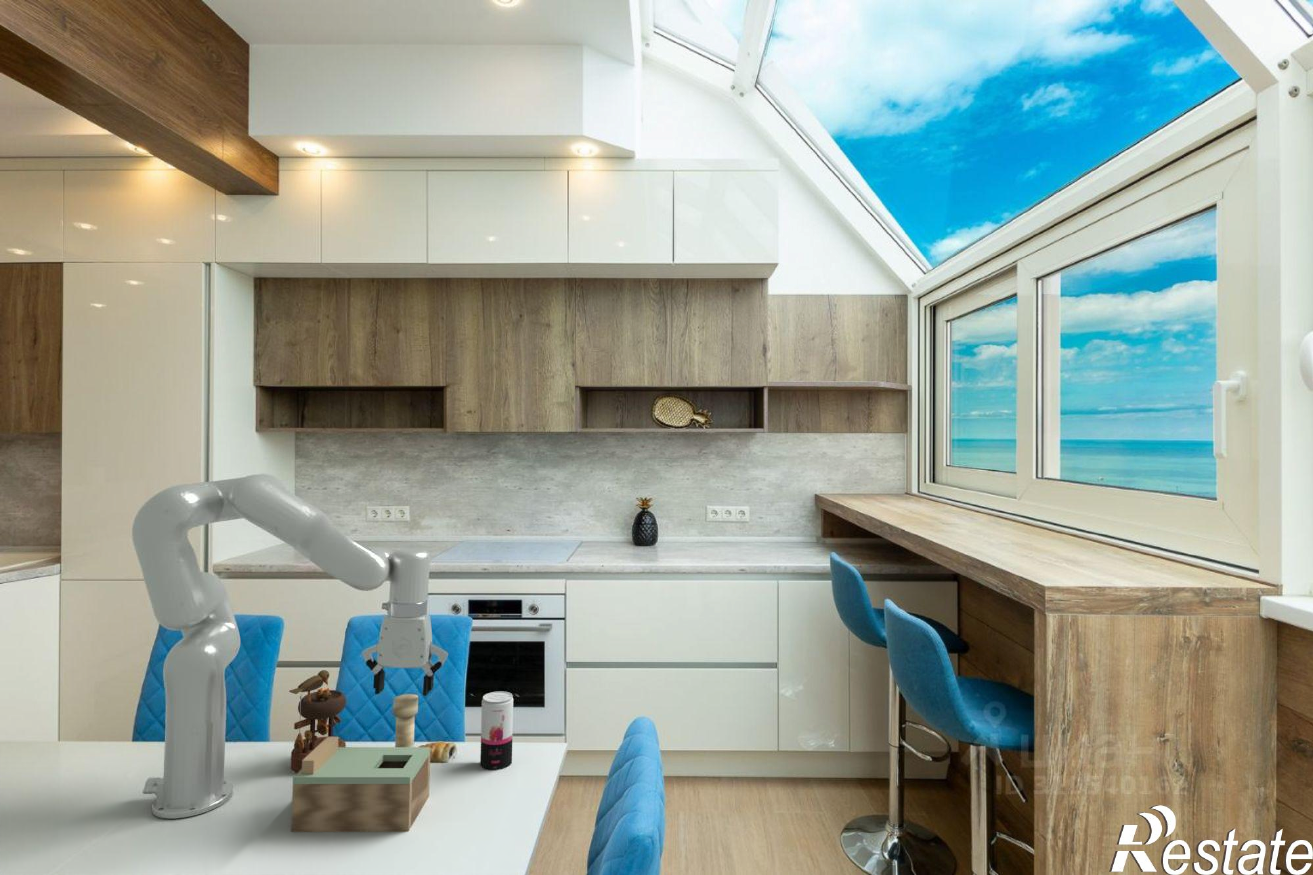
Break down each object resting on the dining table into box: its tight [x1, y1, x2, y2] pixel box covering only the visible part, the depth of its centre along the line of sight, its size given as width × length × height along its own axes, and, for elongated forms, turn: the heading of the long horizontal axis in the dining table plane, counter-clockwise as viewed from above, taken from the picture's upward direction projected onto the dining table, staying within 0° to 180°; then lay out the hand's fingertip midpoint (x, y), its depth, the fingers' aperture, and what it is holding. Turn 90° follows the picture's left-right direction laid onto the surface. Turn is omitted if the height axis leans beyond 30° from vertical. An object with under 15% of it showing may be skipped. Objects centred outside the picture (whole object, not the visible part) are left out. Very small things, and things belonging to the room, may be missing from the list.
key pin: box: [392, 693, 419, 747], centre depth 139 cm, size 5×5×16 cm
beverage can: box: [479, 690, 514, 771], centre depth 143 cm, size 6×6×15 cm
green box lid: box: [292, 736, 430, 785], centre depth 123 cm, size 20×12×4 cm, turn 92°
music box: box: [288, 669, 347, 774], centre depth 145 cm, size 15×11×20 cm
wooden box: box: [290, 755, 431, 833], centre depth 123 cm, size 20×12×9 cm, turn 92°
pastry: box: [418, 740, 458, 764], centre depth 147 cm, size 9×7×4 cm
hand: (403, 692), depth 139 cm, fingers open, 9 cm apart
